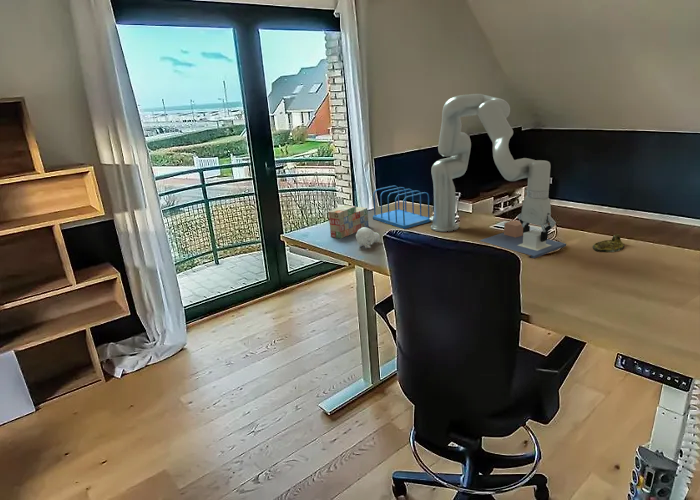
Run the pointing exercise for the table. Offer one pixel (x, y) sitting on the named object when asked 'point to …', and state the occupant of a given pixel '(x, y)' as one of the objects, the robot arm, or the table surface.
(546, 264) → the table surface
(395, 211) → the file sorter
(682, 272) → the table surface
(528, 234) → the base block
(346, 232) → the stack of blocks
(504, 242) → the board
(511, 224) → the top block
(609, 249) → the seal
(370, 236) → the white animal figurine
